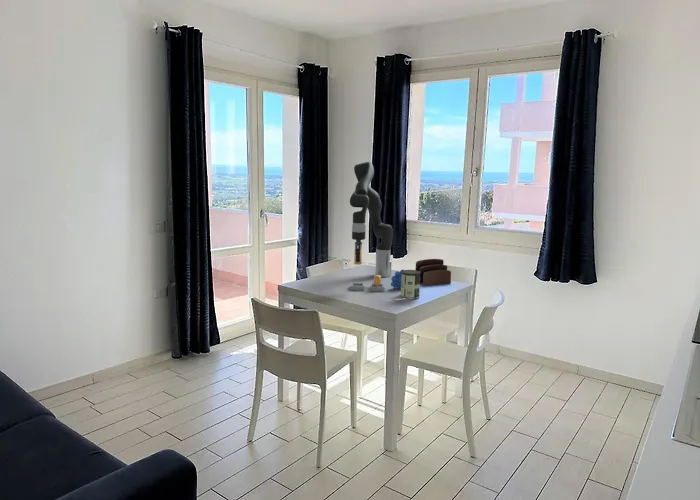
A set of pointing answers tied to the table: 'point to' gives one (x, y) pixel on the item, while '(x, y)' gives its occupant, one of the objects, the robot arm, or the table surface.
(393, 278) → the grapes
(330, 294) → the table surface
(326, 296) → the table surface
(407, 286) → the coffee can
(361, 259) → the loose jaw peg
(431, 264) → the letter holder
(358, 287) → the grey peg socket base
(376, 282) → the seated jaw peg
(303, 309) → the table surface
